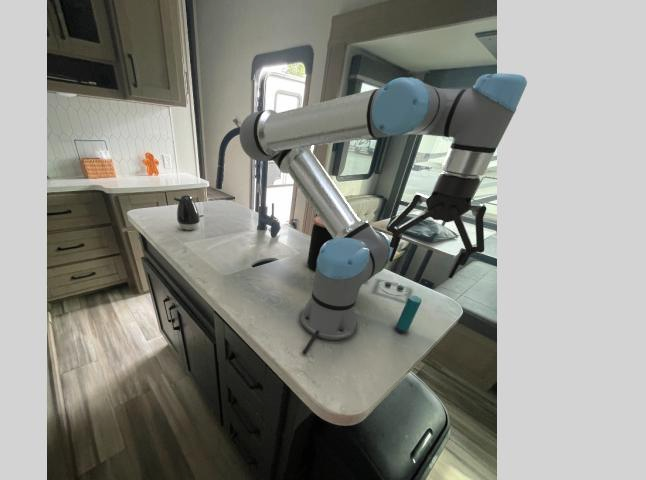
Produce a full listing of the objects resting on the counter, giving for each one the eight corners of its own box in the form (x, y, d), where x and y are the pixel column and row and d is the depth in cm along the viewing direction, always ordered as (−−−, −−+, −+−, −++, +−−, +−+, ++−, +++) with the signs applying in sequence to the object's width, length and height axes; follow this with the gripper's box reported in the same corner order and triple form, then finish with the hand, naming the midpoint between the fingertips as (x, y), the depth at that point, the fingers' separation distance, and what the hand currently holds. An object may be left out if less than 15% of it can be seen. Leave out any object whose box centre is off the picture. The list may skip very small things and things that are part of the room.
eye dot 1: (390, 287, 91) (391, 285, 91) (384, 285, 92) (385, 284, 92) (391, 284, 93) (391, 283, 93) (385, 283, 94) (385, 281, 93)
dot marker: (406, 335, 74) (421, 303, 67) (394, 331, 75) (408, 299, 68) (407, 329, 76) (422, 297, 70) (395, 325, 77) (409, 293, 71)
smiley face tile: (407, 303, 87) (408, 300, 86) (373, 292, 91) (374, 290, 90) (410, 289, 95) (411, 286, 94) (378, 280, 98) (379, 277, 98)
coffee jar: (333, 261, 108) (342, 217, 98) (335, 274, 100) (346, 227, 89) (306, 258, 109) (313, 214, 99) (307, 271, 100) (314, 224, 90)
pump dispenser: (176, 225, 130) (171, 192, 121) (197, 223, 134) (194, 191, 125) (179, 233, 123) (175, 198, 114) (202, 230, 127) (199, 197, 118)
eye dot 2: (402, 290, 90) (403, 289, 90) (396, 289, 91) (397, 287, 90) (403, 288, 91) (404, 286, 91) (397, 286, 92) (397, 285, 92)
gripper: (532, 182, 52) (476, 276, 64) (398, 163, 61) (372, 248, 73) (541, 189, 47) (478, 290, 59) (393, 167, 56) (365, 258, 68)
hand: (419, 267), depth 66 cm, fingers open, 13 cm apart
